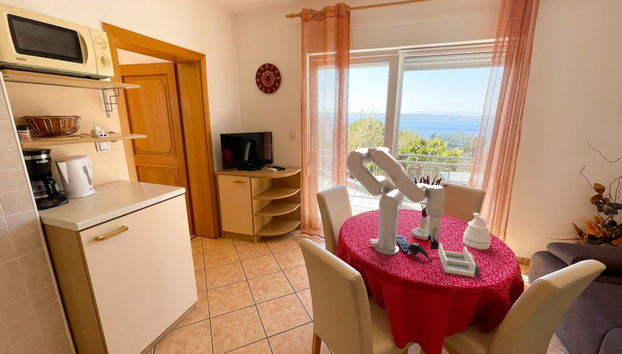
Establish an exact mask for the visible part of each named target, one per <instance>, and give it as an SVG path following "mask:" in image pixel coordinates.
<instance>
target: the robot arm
mask: <svg viewBox="0 0 622 354" xmlns="http://www.w3.org/2000/svg"><path fill="white" fill-rule="evenodd" d="M365 163H366V164H369V163H373V164H374V165H375V166H376V167H378V168H379V169H380V170H381V171H382V172H384V174H385V175H387V177H389V178H390V180H391V181H392V182H391V181H390V180H389V179H388V178H387V177H386V176H384V175H376V174H374V173H373V172H372V171H371V170H370V169H369V168H368V167H366V166H365V165H364V164H365ZM346 167H347V170H348V171H349V173H350V174H351V175H352V176H353V178H355V179H356V180H357V181H358V182H359V183H360V185H361V186H362V187H363V188H364V189H365V190H366V191H367V192H368V193H369V194H370V195H371V196H374V197H375V196H381V198H380V199H379V202H378V210H379V215H378V216H379V217H378V219H379V220H378V234H377V235H378V236H377V239H376V238H375V239H374V238H369V243H371V245H374V249H375V251H377V252H378V253H380V254H383V255H390V256H391V255H396V254H398V253H399V251H400V249H399V248H400V247H398V245H397V239H398V238H397V237H398V226H399V207H400V206H401V204H403V201H404V196H405V197H406V198H407V199H408V200H410V201H411V202H413V203H420V202H421V203H422V202H423V201H424V200H425V199H426V210H425V214H426V216H427V218H426V220H427V221H426V226H425V227H426V228H425V229H426V230H425V231H426V234H427V241H430V250H438V251H439V237H440V235H441V227H442V226H441V224H442V223H441V221H442V217H444V213H445V201H446V200H445V199H446V189H445V187H444V186H442V185H433V184H432V185H430V184H426V183H418V182H417V183H415V182H414V181H412V179H411V178H410V177H409V176H408V174H407V172H406V170H405V168H404V165H402V164H401V163H400V162H399V161H398V160H397V159H396V158H394V157H393V156H392V152H391V150H390V149H389V148H388V147H385V146H384V147H381V146H380V147H362V148H356V149H353V150H352V151H350V152H349V153H348V155H347V157H346Z"/></svg>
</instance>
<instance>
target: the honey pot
mask: <svg viewBox="0 0 622 354" xmlns="http://www.w3.org/2000/svg"><path fill="white" fill-rule="evenodd" d="M473 216H474V218H472V220H470V221H468V222H467V225H468V226H466V229H465V231H463V237H462V243H463V244H465V245H466V246H467V247H470V248H473V249H479V250H488V249H489V248H490V246H491V239H492V237H491V234H490V231H489V229H490V225H488V224H487V221H486V220H485V219H484V217H483V216H482V215H481V216H480V214H479V213H478V212H473Z"/></svg>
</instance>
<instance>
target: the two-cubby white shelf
mask: <svg viewBox="0 0 622 354" xmlns="http://www.w3.org/2000/svg"><path fill="white" fill-rule="evenodd" d="M469 253H470V252H469V251H468V249H467V247H466V246H463V250H462V253H461V252H455V251H448V250H444V248H443V245H442V243H441V242H438V253H437V255H438V258H439V260H440V263H441V267H442V270H443V271H444V274H451V275H457V276H464V277H468V278H469V277H470V278H475V268H476V264H475V262H476V261H475V260H474V261H473V259H472V257H471V256H470V254H469Z"/></svg>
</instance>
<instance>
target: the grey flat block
mask: <svg viewBox="0 0 622 354" xmlns="http://www.w3.org/2000/svg"><path fill="white" fill-rule="evenodd" d="M474 262H475V264H476V268H475V274H474V276H478V277H479V276H480V272H481V267H480V264H478V262H476V261H474Z"/></svg>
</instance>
